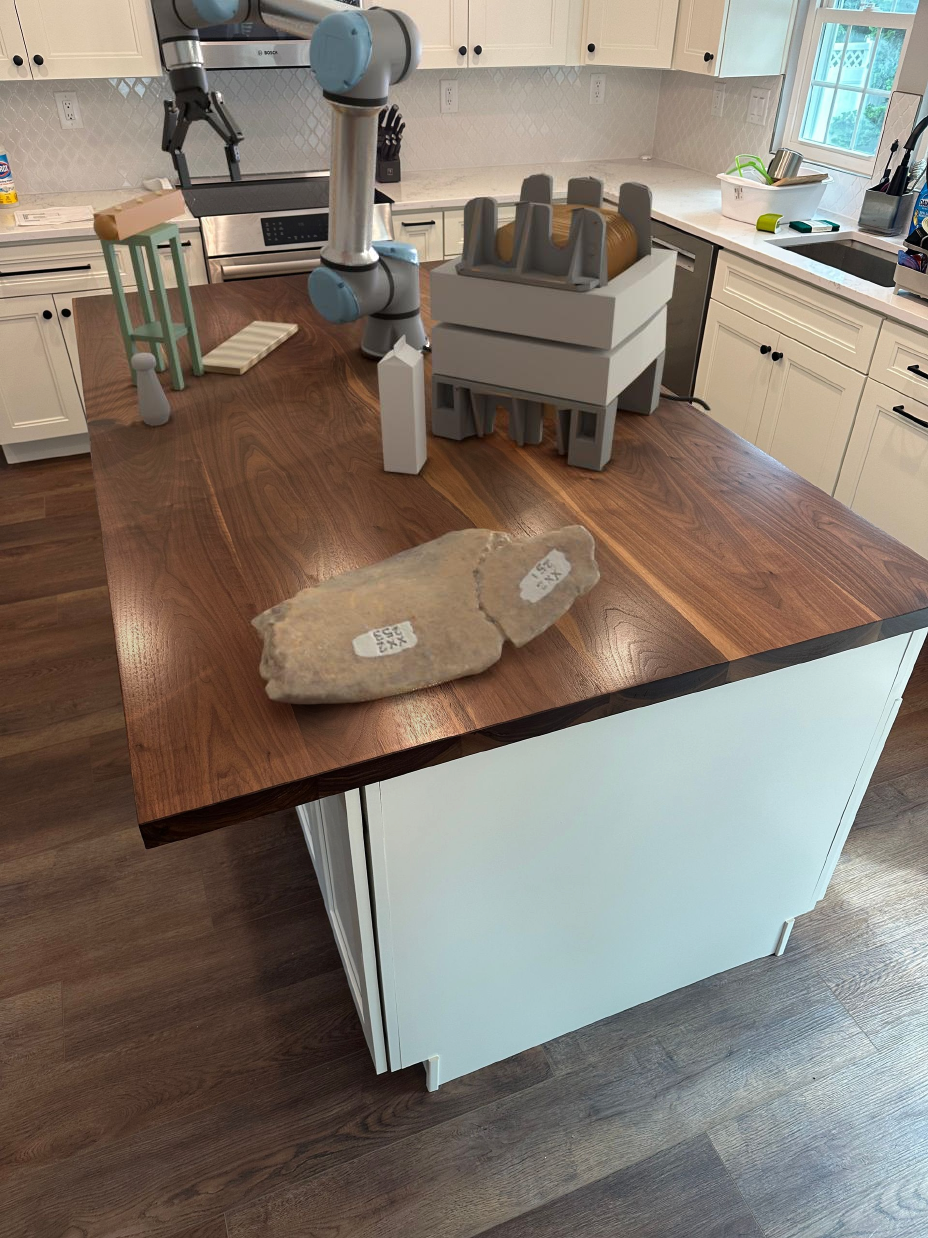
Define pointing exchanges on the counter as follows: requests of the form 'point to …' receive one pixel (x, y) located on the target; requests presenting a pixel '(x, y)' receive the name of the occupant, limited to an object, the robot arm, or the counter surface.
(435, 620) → the rock
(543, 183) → the transformer
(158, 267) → the green shelf
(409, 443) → the milk
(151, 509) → the counter surface
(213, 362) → the bread board
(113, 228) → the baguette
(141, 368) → the salt shaker
